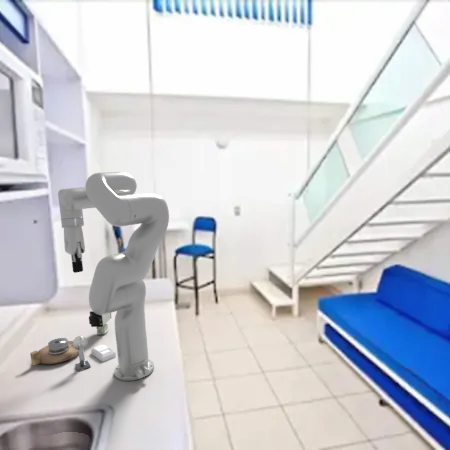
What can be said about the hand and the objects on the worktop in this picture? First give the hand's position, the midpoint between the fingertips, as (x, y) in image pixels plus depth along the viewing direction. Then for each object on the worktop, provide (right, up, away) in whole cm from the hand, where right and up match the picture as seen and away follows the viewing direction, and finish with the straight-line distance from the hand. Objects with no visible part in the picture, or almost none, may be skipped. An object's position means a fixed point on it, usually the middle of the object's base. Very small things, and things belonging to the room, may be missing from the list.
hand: (78, 271), depth 139 cm
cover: (-5, -28, -4) cm, 29 cm away
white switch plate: (+11, -30, -4) cm, 32 cm away
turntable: (-6, -29, -4) cm, 30 cm away
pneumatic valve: (+4, -27, +15) cm, 31 cm away
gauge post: (+6, -31, -12) cm, 34 cm away
